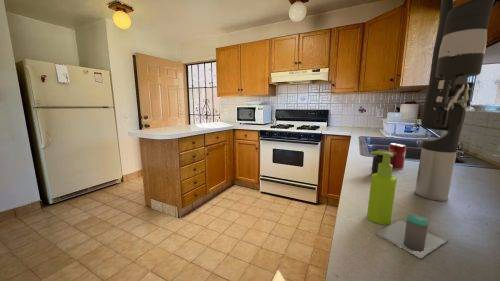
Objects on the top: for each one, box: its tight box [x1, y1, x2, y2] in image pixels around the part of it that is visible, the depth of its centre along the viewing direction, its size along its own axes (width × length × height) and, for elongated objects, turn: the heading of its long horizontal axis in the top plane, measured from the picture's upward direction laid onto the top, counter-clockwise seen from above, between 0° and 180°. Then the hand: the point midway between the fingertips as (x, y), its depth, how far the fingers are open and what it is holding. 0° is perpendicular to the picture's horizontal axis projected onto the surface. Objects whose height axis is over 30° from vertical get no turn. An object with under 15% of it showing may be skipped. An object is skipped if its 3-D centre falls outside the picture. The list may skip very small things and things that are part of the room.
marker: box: [404, 213, 430, 252], centre depth 48 cm, size 4×4×7 cm
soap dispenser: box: [366, 150, 398, 226], centre depth 60 cm, size 6×7×20 cm
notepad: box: [375, 218, 449, 252], centre depth 53 cm, size 13×10×1 cm
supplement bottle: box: [370, 148, 389, 175], centre depth 96 cm, size 7×7×12 cm
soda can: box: [388, 142, 407, 170], centre depth 108 cm, size 7×7×12 cm
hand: (447, 125), depth 51 cm, fingers open, 8 cm apart
